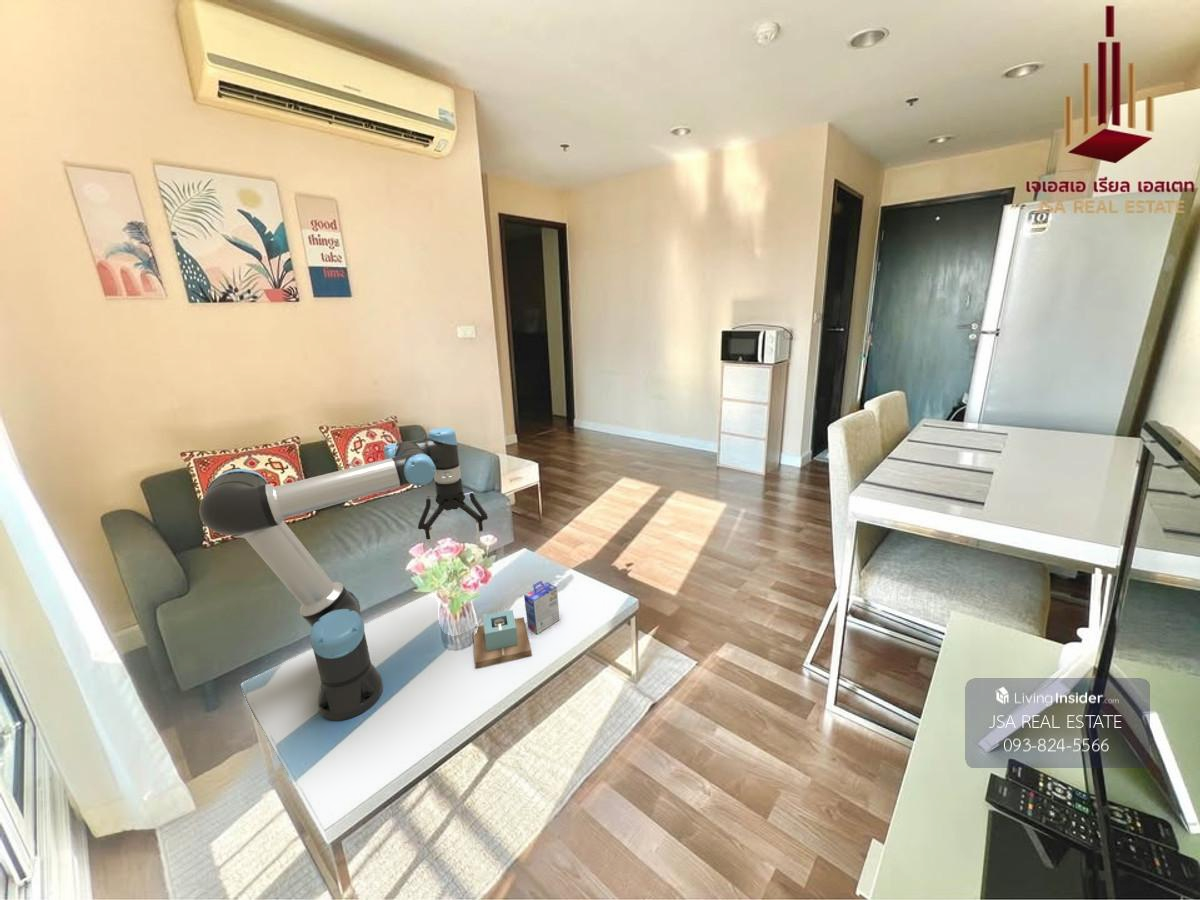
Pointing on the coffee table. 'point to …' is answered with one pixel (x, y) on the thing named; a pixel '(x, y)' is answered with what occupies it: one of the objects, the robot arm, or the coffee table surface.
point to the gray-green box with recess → (500, 631)
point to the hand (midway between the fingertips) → (456, 544)
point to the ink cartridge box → (541, 607)
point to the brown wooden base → (501, 654)
